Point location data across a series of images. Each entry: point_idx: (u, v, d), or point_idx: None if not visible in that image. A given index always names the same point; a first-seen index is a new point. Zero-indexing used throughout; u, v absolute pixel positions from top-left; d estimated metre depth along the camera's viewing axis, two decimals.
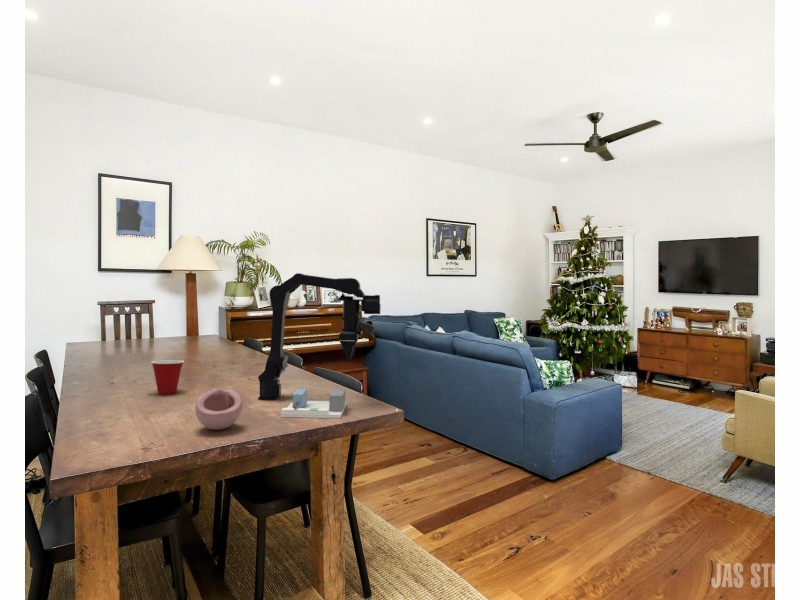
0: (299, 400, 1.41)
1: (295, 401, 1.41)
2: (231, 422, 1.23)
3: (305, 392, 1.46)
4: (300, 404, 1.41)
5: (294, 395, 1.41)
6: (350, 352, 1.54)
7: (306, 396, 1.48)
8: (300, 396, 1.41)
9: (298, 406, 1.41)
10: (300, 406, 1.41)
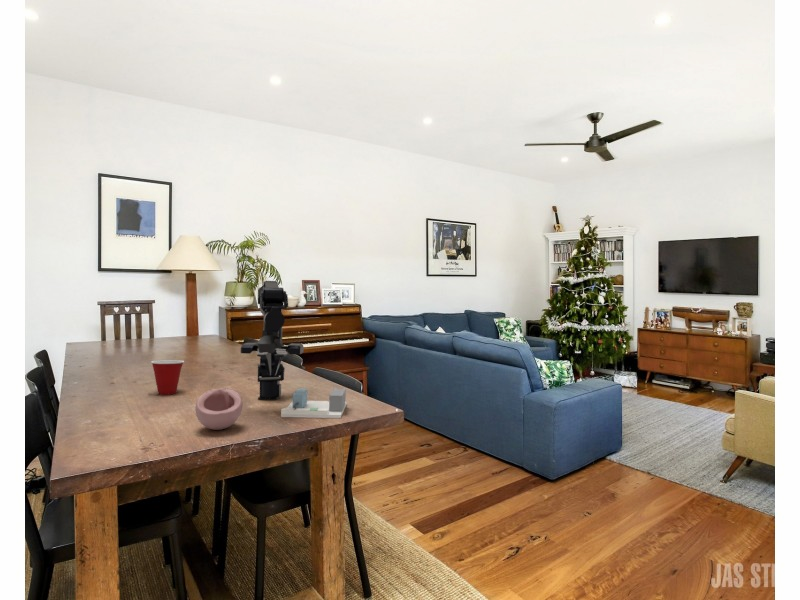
0: (299, 400, 1.41)
1: (295, 401, 1.41)
2: (231, 422, 1.23)
3: (305, 392, 1.46)
4: (300, 404, 1.41)
5: (294, 395, 1.41)
6: None
7: (306, 396, 1.48)
8: (300, 396, 1.41)
9: (298, 406, 1.41)
10: (300, 406, 1.41)
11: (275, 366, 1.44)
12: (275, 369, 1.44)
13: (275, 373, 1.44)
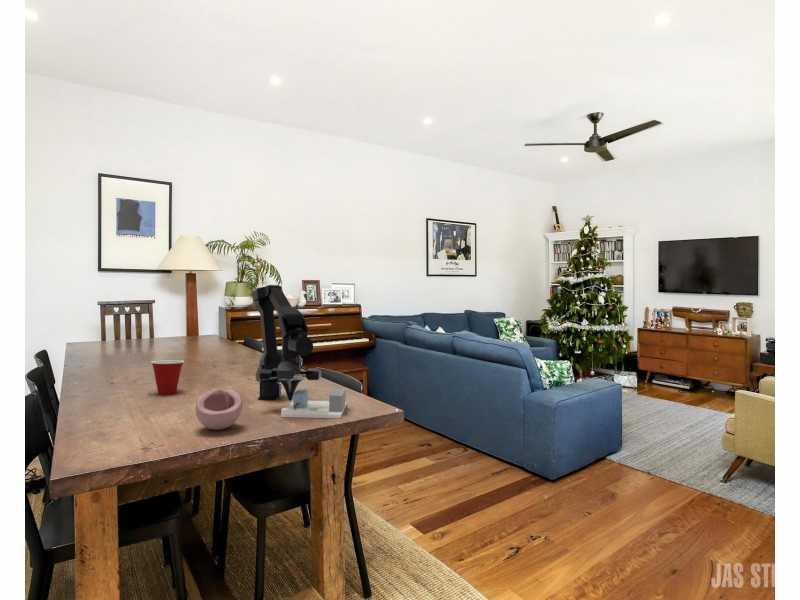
0: (300, 400, 1.41)
1: (296, 401, 1.41)
2: (231, 422, 1.23)
3: (306, 392, 1.46)
4: (301, 404, 1.41)
5: (295, 395, 1.41)
6: None
7: (307, 396, 1.48)
8: (301, 396, 1.41)
9: (299, 406, 1.41)
10: (301, 406, 1.41)
11: (291, 391, 1.44)
12: (291, 394, 1.44)
13: (291, 398, 1.45)
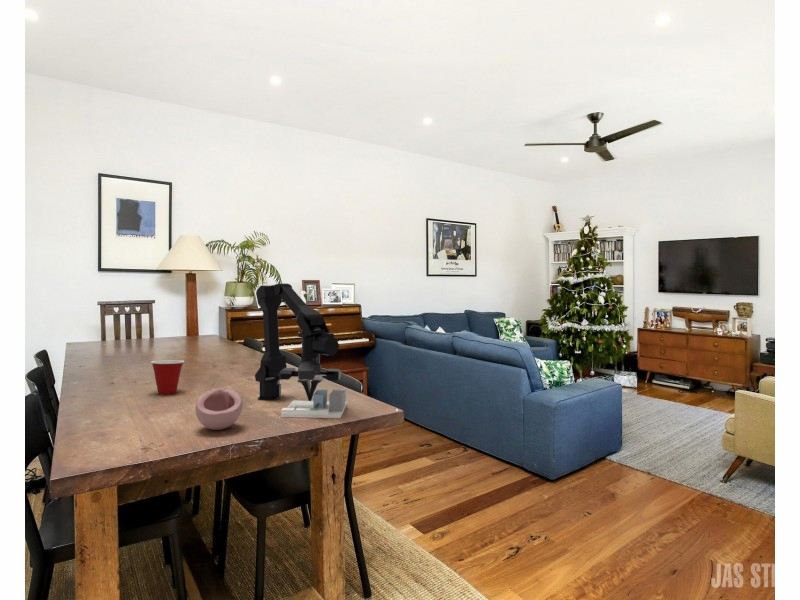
0: (320, 400, 1.41)
1: (316, 401, 1.41)
2: (231, 422, 1.23)
3: (325, 392, 1.46)
4: (321, 404, 1.41)
5: (315, 395, 1.41)
6: None
7: (326, 396, 1.48)
8: (321, 396, 1.41)
9: (319, 406, 1.41)
10: (321, 406, 1.41)
11: (311, 392, 1.44)
12: (311, 395, 1.44)
13: (311, 399, 1.45)
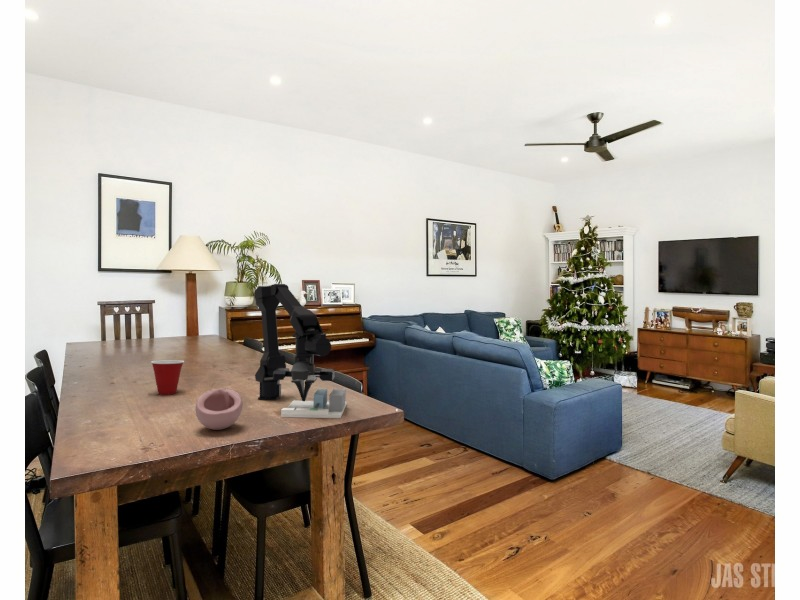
0: (320, 400, 1.41)
1: (316, 401, 1.41)
2: (231, 422, 1.23)
3: (325, 392, 1.46)
4: (321, 404, 1.41)
5: (315, 395, 1.41)
6: None
7: (326, 396, 1.48)
8: (321, 396, 1.41)
9: (319, 406, 1.41)
10: (321, 406, 1.41)
11: (305, 392, 1.44)
12: (305, 395, 1.44)
13: (305, 399, 1.45)
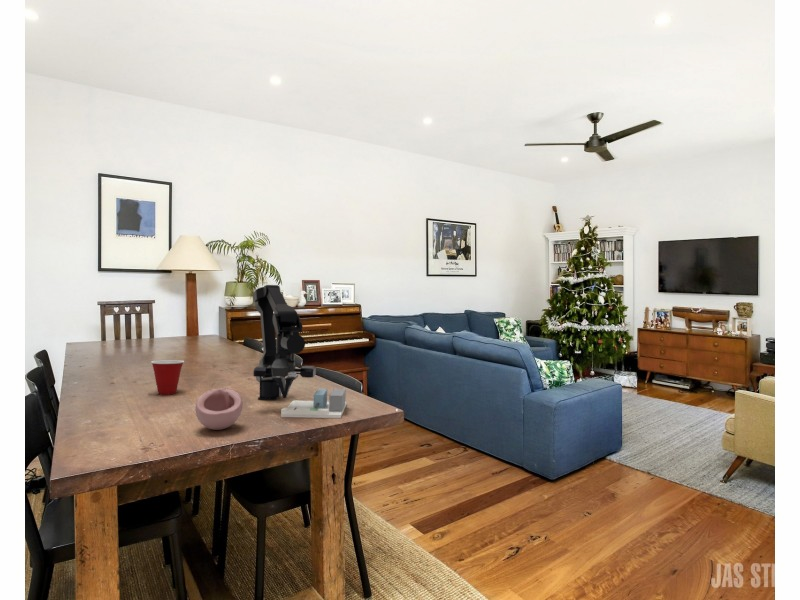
0: (320, 400, 1.41)
1: (316, 401, 1.41)
2: (231, 422, 1.23)
3: (325, 392, 1.46)
4: (321, 404, 1.41)
5: (315, 395, 1.41)
6: None
7: (326, 396, 1.48)
8: (321, 396, 1.41)
9: (319, 406, 1.41)
10: (321, 406, 1.41)
11: (286, 389, 1.44)
12: (286, 392, 1.44)
13: (286, 396, 1.45)
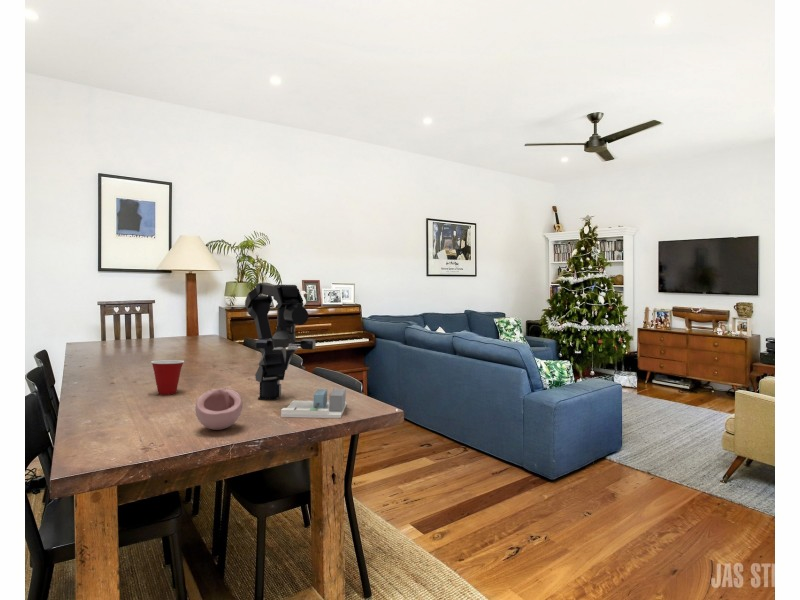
0: (320, 400, 1.41)
1: (316, 401, 1.41)
2: (231, 422, 1.23)
3: (325, 392, 1.46)
4: (321, 404, 1.41)
5: (315, 395, 1.41)
6: None
7: (326, 396, 1.48)
8: (321, 396, 1.41)
9: (319, 406, 1.41)
10: (321, 406, 1.41)
11: (286, 361, 1.49)
12: (286, 363, 1.49)
13: (286, 367, 1.49)
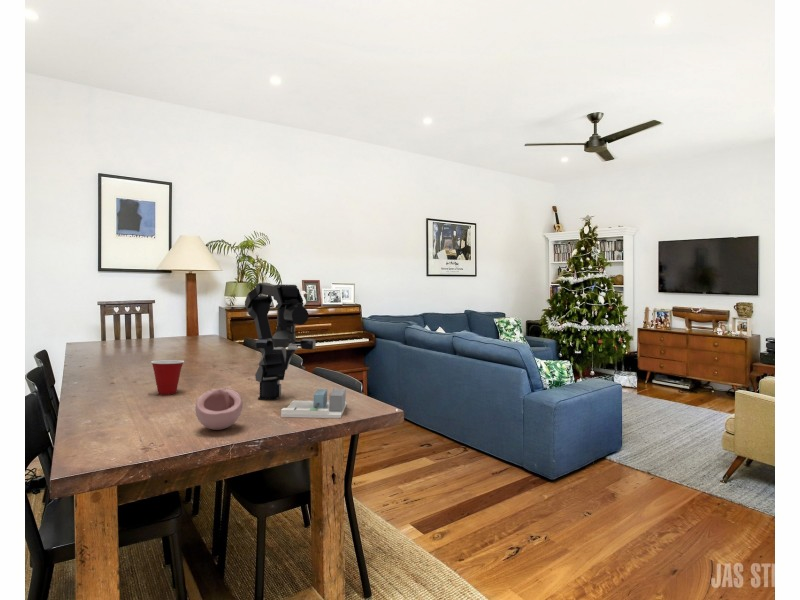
0: (320, 400, 1.41)
1: (316, 401, 1.41)
2: (231, 422, 1.23)
3: (325, 392, 1.46)
4: (321, 404, 1.41)
5: (315, 395, 1.41)
6: None
7: (326, 396, 1.48)
8: (321, 396, 1.41)
9: (319, 406, 1.41)
10: (321, 406, 1.41)
11: (286, 360, 1.49)
12: (286, 363, 1.49)
13: (286, 367, 1.49)
